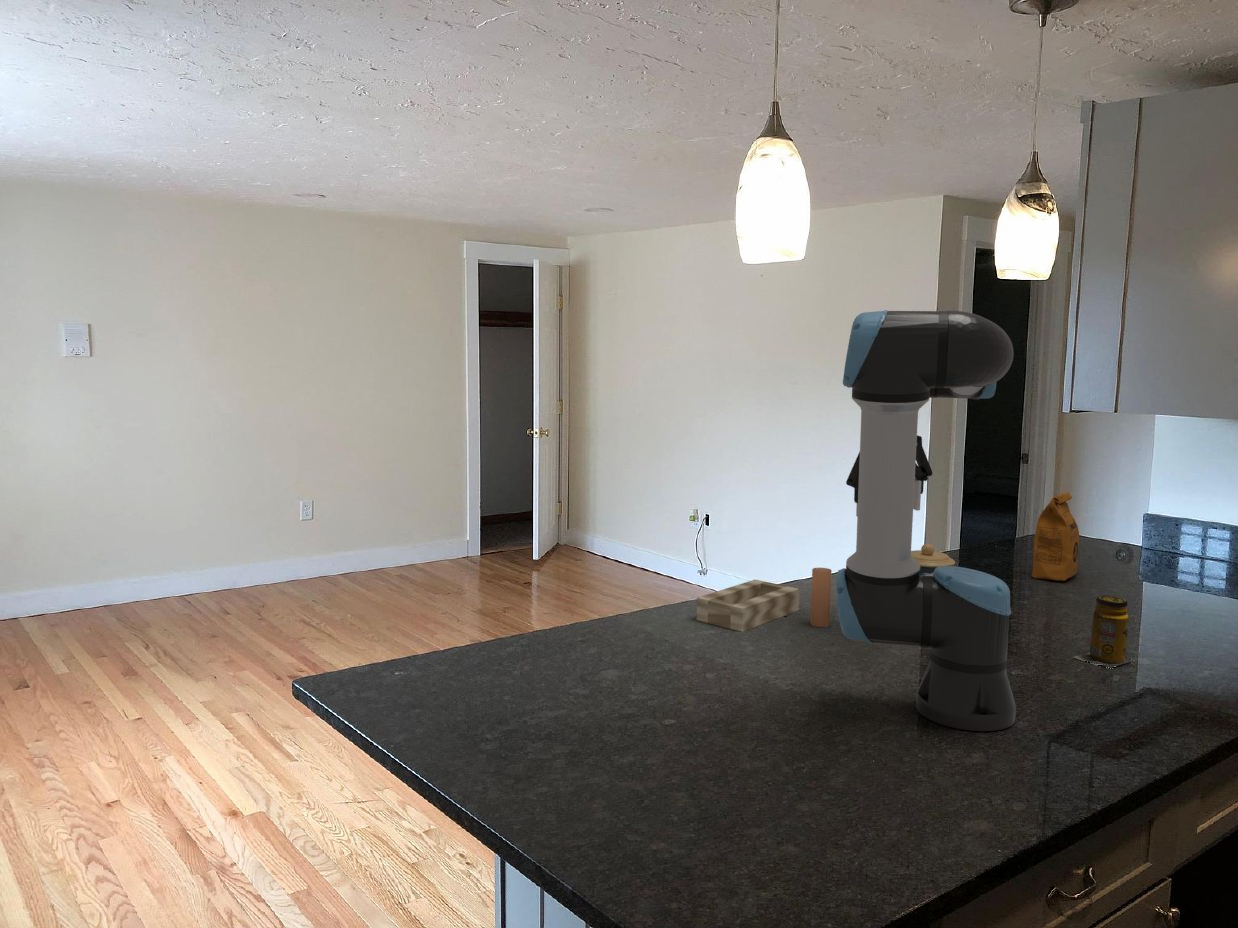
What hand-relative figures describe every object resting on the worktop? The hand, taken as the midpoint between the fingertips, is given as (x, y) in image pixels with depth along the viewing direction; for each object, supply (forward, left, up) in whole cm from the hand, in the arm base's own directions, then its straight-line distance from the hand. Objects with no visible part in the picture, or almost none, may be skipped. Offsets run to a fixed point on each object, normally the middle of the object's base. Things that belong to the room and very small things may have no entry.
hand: (888, 513), depth 194 cm
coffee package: (+68, -14, -24) cm, 73 cm away
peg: (-11, +9, -24) cm, 28 cm away
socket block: (-16, +24, -24) cm, 38 cm away
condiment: (+7, -42, -24) cm, 49 cm away
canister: (+5, -7, -24) cm, 26 cm away
